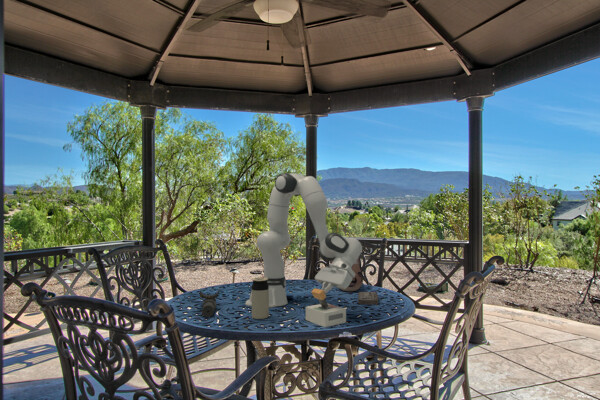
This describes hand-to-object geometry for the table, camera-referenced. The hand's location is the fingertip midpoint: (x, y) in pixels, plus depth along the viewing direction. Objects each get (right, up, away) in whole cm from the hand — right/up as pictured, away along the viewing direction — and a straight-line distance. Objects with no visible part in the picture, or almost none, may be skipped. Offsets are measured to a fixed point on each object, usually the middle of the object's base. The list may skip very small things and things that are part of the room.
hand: (323, 292), depth 178 cm
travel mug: (-29, -14, +8) cm, 33 cm away
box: (+27, -15, +39) cm, 50 cm away
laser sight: (-56, -14, +19) cm, 60 cm away
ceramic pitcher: (+18, -15, +68) cm, 72 cm away
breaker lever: (+1, -7, +1) cm, 7 cm away
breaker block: (+1, -13, 0) cm, 13 cm away
